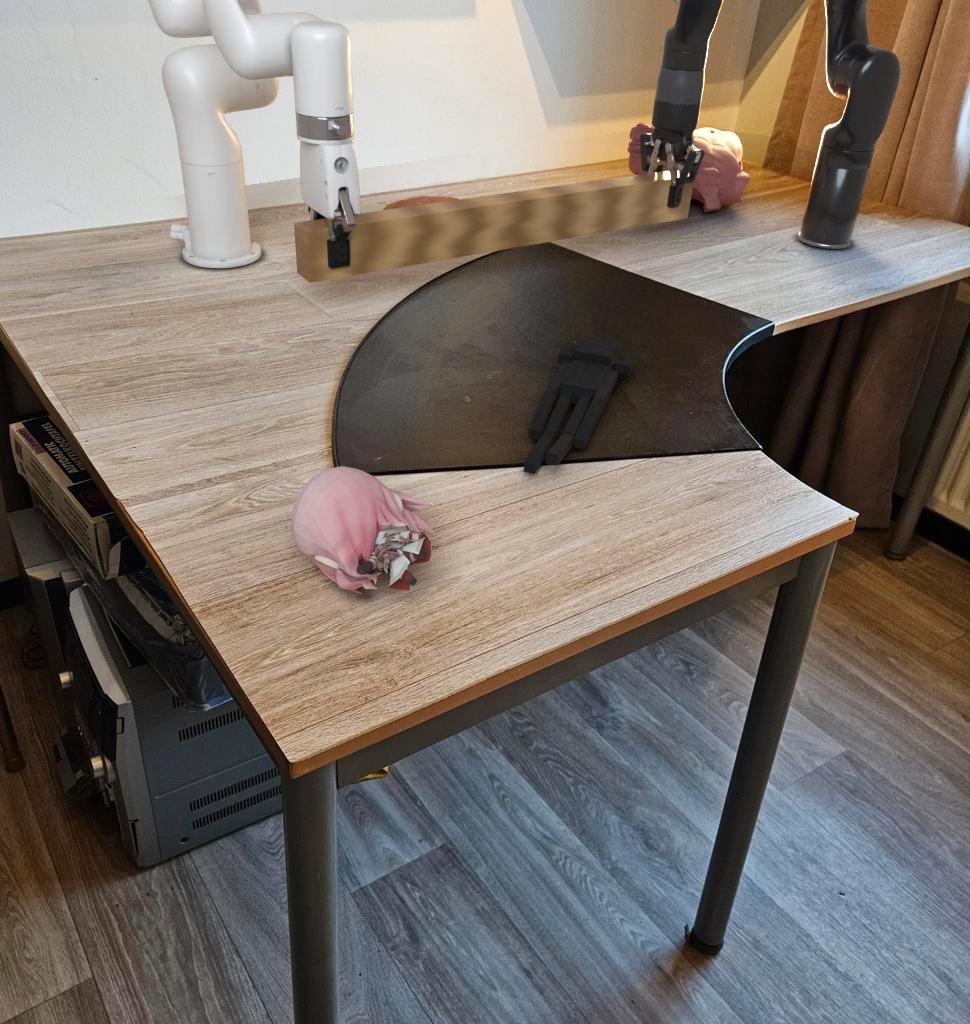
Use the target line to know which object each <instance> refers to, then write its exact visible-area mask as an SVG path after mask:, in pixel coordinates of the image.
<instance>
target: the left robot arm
mask: <svg viewBox="0 0 970 1024" xmlns="http://www.w3.org/2000/svg"><path fill="white" fill-rule="evenodd" d="M147 1H148V4H149V7H150V10H151V12H152V15H153V16H152V17H153V19H154V21H155V23H156V25H157V27H158V28H159V29H160V31H161V32H162V33H163V34H165V35H166V36H168V37H171V38H176V39H177V38H178V39H191V38H205V37H212V38H213V40H214V42H215V43H208V44H198V45H197V44H196V45H190V46H184V47H181V48H178V49H176V50H174V51H172V52H170V54H168V55H167V57H166V58H165V59H164V62H163V64H162V67H161V68H162V69H161V78H162V79H161V80H162V84H163V88H164V92H165V95H166V99H167V101H168V104H169V108H170V112H171V115H172V119H173V123H174V129H175V135H176V140H177V148H178V155H179V160H180V168H181V176H182V183H183V192H184V200H185V208H186V213H187V214H186V216H187V223H188V225H185V224H180V223H172V225H171V226H170V233H169V237H170V239H171V240H175V241H183V242H184V247H183V248H182V250H181V253H182V258H183V260H184V261H185V262H186V263H188V264H190V265H193V266H196V267H199V268H206V269H232V268H239V267H243V266H247V265H249V264H252V263H255V262H257V261H258V260H259V259H260V258H261V257H262V247H261V246H260V245H259V243H257V242H256V241H253V240H251V230H250V220H249V210H248V209H249V208H248V198H247V197H248V196H247V188H246V178H245V167H244V158H243V157H244V156H243V148H242V144H241V141H240V138H239V137H238V135H237V133H236V131H234V129H233V128H232V126H230V124H229V123H228V121H227V119H226V118H225V115H226V114H232V113H234V112H235V113H236V112H243V111H249V110H250V111H251V110H256V109H262V108H265V107H268V106H270V105H271V104H273V103H274V102H275V100H276V99H277V97H278V94H279V90H280V78H285V77H292V80H293V94H294V110H295V125H296V126H295V127H296V139H297V140H299V173H300V174H299V175H300V191H301V198H302V200H303V202H304V203H305V205H307V212H308V213H309V221H310V220H317V219H324V218H327V224H328V231H329V238H330V239H329V240H327V253H328V266H329V267H330V268H331V269H333V268H339V267H345V266H349V265H350V238H351V231H352V229H353V228H354V227H355V225H356V223H355V219H354V216H359V215H360V213H362V206H361V204H362V203H361V190H360V188H361V187H360V177H359V167H358V160H357V154H356V148H355V143H354V140H355V125H354V92H353V91H354V90H353V88H354V87H353V67H352V66H353V63H352V62H353V60H352V37H351V33H350V31H349V29H348V27H346V26H345V25H344V24H342V23H340V22H334V21H328V20H323V19H321V18H320V17H318V16H316V15H314V14H313V13H310V12H304V11H293V12H292V11H291V12H271V13H270V12H269V13H263V10H262V7H261V3H260V0H147ZM335 213H340V215H336V214H335ZM336 221H342V222H341V224H338V225H337V227H336V229H335V225H334V222H336Z"/></svg>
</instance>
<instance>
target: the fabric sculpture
mask: <svg viewBox="0 0 970 1024" xmlns="http://www.w3.org/2000/svg"><path fill="white" fill-rule="evenodd" d="M654 129H655V127H653V125H651V126H650V124H647V123H646V122H645V123H644V122H638V123H637V124H636V125H635V126H633V127H631V129H630V132H629V139H630V140H631V141H630V142H629V143H628V147H627V153H629V156H628V169H629V171H630V172H631V174H633V175H641V174H648V173H647V172H646V171H643V170H642V168H641V150H640V135H641V134H645V133H653V131H654ZM692 140H693V146H694V147H695V148H697V149H698V150H699V149H703V150H704V152H705V154H704V157H703V159H702V162H701V165H700V167H699V170H698V172H697V175H696V177H695V180H694V182H693V188H692V195H691V200H697V201H698V202H700V203H701V204H703V207H702V209H703V212H704V213H709V212H712V211H713V212H714V211H719V210H721V207H724V206H732V205H736V204H739V203H740V202H741V201H742V197H741V196H742V195H741V194H742V192H743V191H744V189H745V187H746V186H747V185H748V184H749V183H750V174H749V173H747V172H745V171H744V170H743V163H742V159H743V145H742V144H741V141H740V138H739V137H738V135H736V133H734V132H732V131H722V130H720V129H716V128H713V127H700V128H698V129H695V130H694V132H693V134H692ZM648 163H650V156H649V155H648ZM680 163H681V162H680ZM680 163H676V164H675V165H676V166H679V165H680ZM657 167H658V166H657ZM664 171H668V164H667V165H666V166H665V169H664Z"/></svg>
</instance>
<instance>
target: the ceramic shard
mask: <svg viewBox="0 0 970 1024" xmlns="http://www.w3.org/2000/svg"><path fill="white" fill-rule="evenodd" d="M454 200H461V199H460V198H457V197H454V196H445V195H444V196H440V195H420V196H415V197H414V196H413V197H409V198H406V199H401V200H397V201H396V200H395V201H394V202H391V203H388V204H386V206H384V208H383V209H382V210H389V209H396V208H404V207H411V206H418V205H425V204H432V203H439V202H447V201H454Z"/></svg>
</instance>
